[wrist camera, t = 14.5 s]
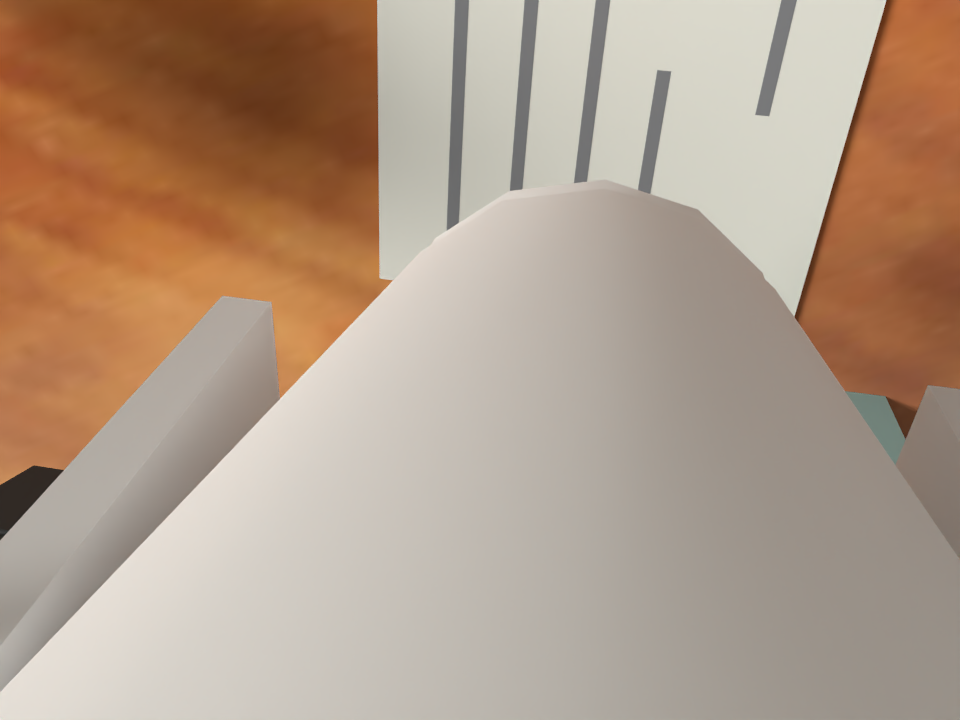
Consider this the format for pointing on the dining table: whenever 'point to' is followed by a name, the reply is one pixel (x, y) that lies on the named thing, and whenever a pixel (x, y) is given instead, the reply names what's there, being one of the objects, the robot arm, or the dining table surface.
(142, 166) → the dining table surface
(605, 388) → the foam cup
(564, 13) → the letter
